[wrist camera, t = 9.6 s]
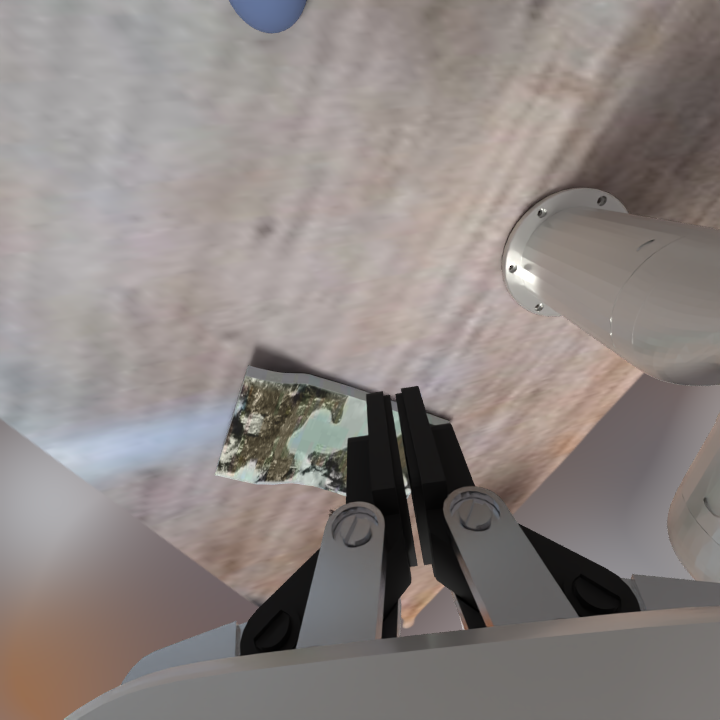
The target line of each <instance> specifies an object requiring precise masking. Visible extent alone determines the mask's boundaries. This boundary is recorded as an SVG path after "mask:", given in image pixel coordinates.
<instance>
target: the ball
mask: <svg viewBox="0 0 720 720" xmlns="http://www.w3.org/2000/svg"><path fill="white" fill-rule="evenodd" d="M306 1H307V0H229V2H230V3H231V5H232V7H233V8H234V10H235V11H236V13H237V14H238V15H239V16H240V17H241V18H242V19H243V20H244V21H245V22H246V23H247V24H248V25H250V26H251V27H253V28H255V29H257V30H259V31H262V32H266V33H278V32H282V31H284V30H286V29H288V28H290V27H291V26H292V25H293V24H294V23H295V22H296V21H297V20H298V19H299V17H300V15H301V14H302V12H303V9H304V7H305V4H306Z"/></svg>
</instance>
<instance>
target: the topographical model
mask: <svg viewBox="0 0 720 720" xmlns="http://www.w3.org/2000/svg"><path fill="white" fill-rule="evenodd" d="M366 394H369V393H368V392H365V391H362V390H359V389H356V388H353V387H350V386H347V385H344V384H340V383H337V382H333V381H330V380H327V379H323V378H320V377H317V376H313V375H310V374H304V373H280V372H274V371H269V370H264V369H260V368H256V367H253V366H249V365H248V368H247V371H246V374H245V377H244V381H243V384H242V387H241V390H240V393H239V397H238V400H237V403H236V406H235V410H234V413H233V416H232V419H231V423H230V426H229V429H228V432H227V435H226V439H225V442H224V445H223V448H222V451H221V455H220V458H219V461H218V465H217V469H216V473H215V475H217V476H222V477H226V478H231V479H235V480H240V481H244V482H248V483H253V484H271V485H274V484H284V483H296V484H302V485H310V486H315V487H319V488H322V489H325V490H328V491H332V492H335V493H338V494H341V495H344V496H346V479H347V440H348V438H351V437H358V436H365V435H368V422H367V404H366ZM391 405H392V411H393V417H394V423H395V429H396V435H397V442H398V448H399V454H400V460H401V466H402V473H403V479H404V485H405V491H406V497H407V498H408V496H409V495H410V493H411V489H410V483H409V478H408V472H407V466H406V460H405V454H404V447H403V441H402V434H401V428H400V421H399V415H398V408H397V402H394V401H391ZM426 414H427V417H428V420H429V424H430V426H432V425H439V424H446V423H450V422H449V421H448V420H445V419H442V418H439V417H436V416H434V415H431V414H428V413H426Z"/></svg>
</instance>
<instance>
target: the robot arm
mask: <svg viewBox="0 0 720 720" xmlns="http://www.w3.org/2000/svg"><path fill="white" fill-rule="evenodd" d="M598 199H599V200H598ZM597 201H598V202H597ZM539 210H540V214H538V211H539ZM537 214H538V215H537ZM510 265H512V267H511V268H510V269H509V267H510ZM502 275H503V281H504V284H505V286H506V289H507V291H508V293H509V294H510V295H511V297H512V298H513V300H515V301H516V302H517V303H518V304H519V305H520V306H522V307H523V308H524V309H526V310H527V311H529V312H531V313H534V314H537V315H541V316H547V317H557V316H563V317H564V318H566V319H567V320H569V321H570V322H572V323H573V324H574V325H576V326H577V327H579V328H580V329H582V330H583V331H584V332H586V333H587V334H589V335H590V336H592V337H593V338H594V339H596V340H597V341H599V342H600V343H602V344H603V345H604V346H606V347H607V348H609V349H610V350H612V351H613V352H614V353H616V354H617V355H619V356H620V357H622V358H623V359H624V360H626V361H627V362H629V363H630V364H632V365H633V366H635V367H636V368H637V369H639V370H640V371H642V372H644V373H646V374H648V375H650V376H652V377H654V378H656V379H659V380H662V381H666V382H670V383H674V384H679V385H690V386H711V385H720V229H716V228H710V227H704V226H698V225H692V224H687V223H681V222H675V221H669V220H663V219H657V218H651V217H645V216H639V215H633V214H629V213H628V211H627V209H626V207H625V206H624V205H623V204H622V203H621V202H620V201H619V199H617V198H616V197H614V196H613V195H611V194H610V193H607V192H604V191H602V190H599V189H592V188H571V189H567V190H562V191H559V192H557V193H554V194H552V195H549V196H548V197H546V198H544V199H543V200H541V201H540V202H538V203H536V204H535V205H534V206H533V207H532V208H531V209H529V210H528V211H527V212H526V213H525V214H524V215H523V217H522V218H521V219H520V220H519V221H518V223H517V224H516V226H515V227H514V229H513V230H512V232H511V234H510V236H509V238H508V240H507V243H506V245H505V248H504V253H503V258H502ZM536 305H537V306H536ZM401 392H402V393H399V394H395V395H396V402H397V408H398V415H399V421H400V428H401V434H402V441H403V447H404V454H405V460H406V466H407V472H408V478H409V483H410V489H411V495H412V500H413V506H414V511H415V517H416V523H417V528H418V534H419V540H420V545H421V551H422V556H423V562H424V565H428V564H432V568H433V573H434V577H436V580H437V581H439V582H440V583H442V584H443V585H444V586H446V587H447V588H449V589H450V590H451V592H452V597H453V600H454V603H455V605H456V608H457V611H458V613H459V616H460V618H461V621H462V624H463V626H464V629H465V630H459V631H450V632H442V633H441V632H440V633H432V634H423V635H414V636H405V637H400V630H401V598H400V597H401V595H402V594H403V593H404V592H405V590H406V589H407V588H408V586H409V585H410V584H411V580H412V579H411V572H410V567H412V566H417V559H416V553H415V547H414V541H413V535H412V528H411V522H410V516H409V510H408V504H407V497H406V491H405V485H404V479H403V473H402V466H401V460H400V454H399V448H398V442H397V435H396V429H395V423H394V417H393V411H392V405H391V398H390V395H386V396H383V391H382V392H376V393H369V394H366V404H367V422H368V435H365V436H358V437H351V438H348V440H347V479H346V504H345V505H343V506H341V507H340V508H338V509H337V510H336V511H334V513H333V514H332V515H331V516H330V517H329V519H328V522H327V524H326V527H325V531H324V535H323V539H322V543H321V547H320V549H319V550H318V551H317V552H316V553H314V554H313V555H312V556H311V557H310V558H309V559H308V560H307V561H306V562H305V563H304V564H303V565H302V566H301V567H300V568H299V569H298V570H297V571H296V572H295V573H294V574H293V575H292V576H291V577H290V578H289V579H288V580H287V581H286V582H285V583H284V584H283V585H282V586H281V587H280V588H279V589H278V590H277V591H276V592H275V593H274V594H273V595H272V596H271V597H270V598H269V599H268V600H267V601H266V602H265V603H264V604H263V605H262V606H260V607H259V608H258V609H257V610H256V612H255V613H254V614H253V615H252V617H251V618H250V619H249V620H248V622H246V623H243V624H240V625H238V623H237V622H236V621H235V622H232V623H229V624H227V625H224V626H221V627H218V628H216V629H213V630H210V631H208V632H205V633H203V634H200V635H197V636H194V637H192V638H189V639H186V640H183V641H181V642H178V643H175V644H173V645H170V646H167V647H165V648H162V649H159V650H156V651H154V652H153V653H151V654H149V655H147V656H145V657H143V658H142V659H141V660H140V661H139V662H138V663H137V664H136V665H135V666H134V667H133V668H132V669H131V670H130V672H129V673H128V675H127V676H126V677H125V679H124V680H123V682H122V684H121V686H118V687H116V688H114V689H112V690H110V691H108V692H106V693H104V694H102V695H101V696H99V697H97V698H95V699H94V700H92V701H90V702H88V703H87V704H85V705H84V706H82V707H81V708H79V709H78V710H76V711H75V712H73V713H72V714H70V715H69V716H68V717H66V718H65V719H64V720H720V413H719V414H718V416H717V419H716V423H715V425H714V426H713V428H712V430H711V431H710V433H709V435H708V437H707V438H706V440H705V442H704V444H703V445H702V447H701V449H700V450H699V452H698V454H697V456H696V457H695V459H694V461H693V462H692V464H691V466H690V468H689V470H688V471H687V473H686V474H685V476H684V478H683V480H682V482H681V484H680V486H679V487H678V489H677V492H676V493H675V496H674V498H673V500H672V503H671V505H670V508H669V513H668V519H667V528H668V535H669V540H670V542H671V545H672V547H673V550H674V552H675V554H676V555H677V557H678V559H679V561H680V562H681V564H682V565H683V566H684V568H685V569H686V570H687V571H688V572H689V574H690V575H691V576H692V577H693V578H694V580H695V581H694V580H685V579H675V578H665V577H655V576H645V575H634V574H633V575H632V577H631V579H625V578H620V577H619V576H617V575H616V574H614V573H613V572H611V571H609V570H608V569H606V568H604V567H602V566H600V565H598V564H596V563H595V562H593V561H591V560H589V559H587V558H585V557H583V556H581V555H579V554H577V553H575V552H573V551H571V550H569V549H567V548H565V547H563V546H561V545H559V544H557V543H555V542H554V541H551V540H550V539H547V538H546V537H544V536H542V535H540V534H538V533H536V532H534V531H532V530H530V529H528V528H526V527H524V526H522V525H520V524H518V523H517V522H516V520H515V518H514V517H513V515H512V514H511V512H510V511H509V509H508V508H507V506H506V505H505V503H504V502H503V501H502V500H501V498H500V497H499V496H498V495H496V494H495V493H493V492H492V491H490V490H488V489H485V488H482V487H475V485H474V482H473V480H472V477H471V474H470V472H469V469H468V467H467V464H466V461H465V459H464V456H463V453H462V451H461V448H460V446H459V443H458V440H457V438H456V435H455V433H454V430H453V427H452V425H451V424H450V423H446V424H439V425H432V426H430V424H429V420H428V417H427V414H426V410H425V407H424V404H423V400H422V397H421V394H420V390H419V387H418V386H414V387H408V388H402V389H401Z"/></svg>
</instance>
